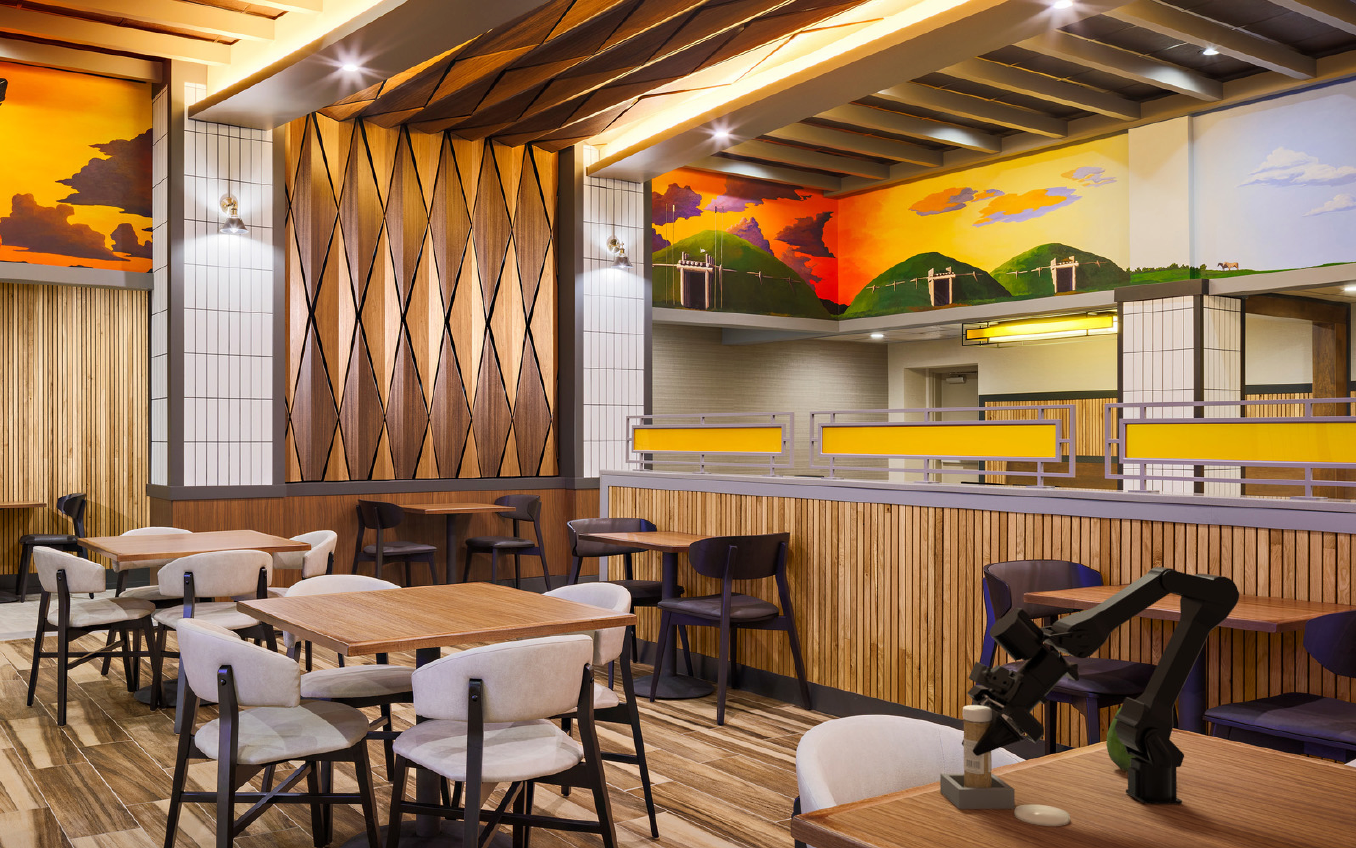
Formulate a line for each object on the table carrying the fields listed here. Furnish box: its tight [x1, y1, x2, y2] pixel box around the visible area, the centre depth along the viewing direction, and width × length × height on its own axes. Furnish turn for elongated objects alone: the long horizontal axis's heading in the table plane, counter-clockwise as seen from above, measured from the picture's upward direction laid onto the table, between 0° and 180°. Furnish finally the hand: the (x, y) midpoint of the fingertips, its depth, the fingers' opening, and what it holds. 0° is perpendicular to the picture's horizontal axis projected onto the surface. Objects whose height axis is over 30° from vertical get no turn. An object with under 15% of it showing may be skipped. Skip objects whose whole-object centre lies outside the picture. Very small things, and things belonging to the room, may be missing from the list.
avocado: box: [1105, 706, 1135, 772], centre depth 190 cm, size 8×8×12 cm
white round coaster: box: [1014, 804, 1071, 827], centre depth 162 cm, size 8×8×1 cm
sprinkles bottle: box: [962, 704, 993, 788], centre depth 171 cm, size 5×5×14 cm
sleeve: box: [939, 773, 1016, 810], centre depth 170 cm, size 9×9×3 cm
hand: (969, 750), depth 170 cm, fingers closed on sprinkles bottle, 4 cm apart
